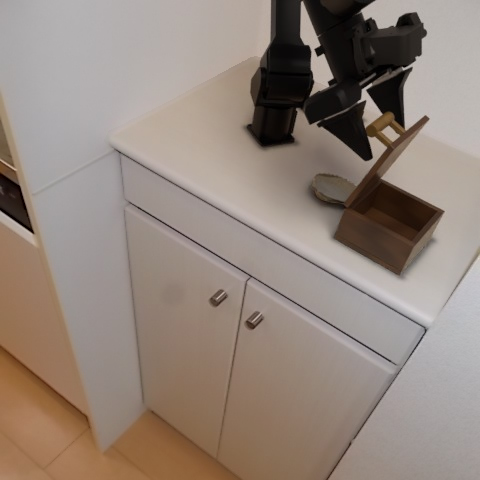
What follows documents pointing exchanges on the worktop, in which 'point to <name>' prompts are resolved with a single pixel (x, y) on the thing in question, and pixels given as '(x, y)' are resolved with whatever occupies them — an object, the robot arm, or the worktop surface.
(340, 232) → the chest
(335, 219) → the worktop surface
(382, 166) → the lid
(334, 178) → the seashell
